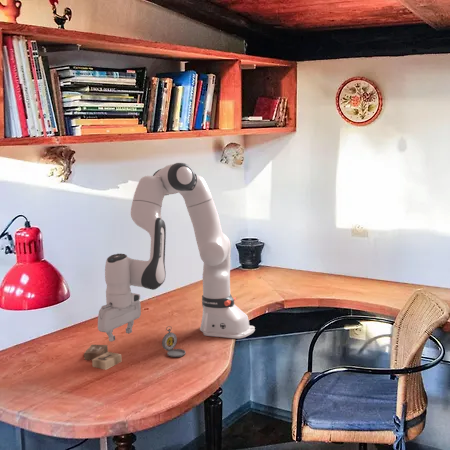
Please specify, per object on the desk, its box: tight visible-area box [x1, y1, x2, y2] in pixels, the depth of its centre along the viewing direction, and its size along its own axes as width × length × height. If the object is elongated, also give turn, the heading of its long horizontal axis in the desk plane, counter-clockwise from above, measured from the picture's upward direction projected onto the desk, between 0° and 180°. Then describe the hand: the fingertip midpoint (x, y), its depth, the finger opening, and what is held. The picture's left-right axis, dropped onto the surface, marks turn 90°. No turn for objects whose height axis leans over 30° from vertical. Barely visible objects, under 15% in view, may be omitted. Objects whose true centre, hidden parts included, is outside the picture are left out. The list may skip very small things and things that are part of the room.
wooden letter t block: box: [91, 351, 123, 371], centre depth 218 cm, size 6×3×8 cm
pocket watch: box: [161, 325, 186, 358], centre depth 225 cm, size 8×8×10 cm
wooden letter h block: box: [83, 344, 109, 361], centre depth 226 cm, size 6×3×8 cm
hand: (120, 336), depth 223 cm, fingers open, 8 cm apart
